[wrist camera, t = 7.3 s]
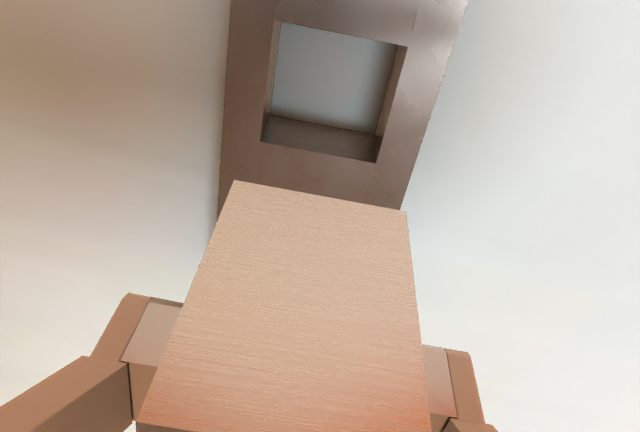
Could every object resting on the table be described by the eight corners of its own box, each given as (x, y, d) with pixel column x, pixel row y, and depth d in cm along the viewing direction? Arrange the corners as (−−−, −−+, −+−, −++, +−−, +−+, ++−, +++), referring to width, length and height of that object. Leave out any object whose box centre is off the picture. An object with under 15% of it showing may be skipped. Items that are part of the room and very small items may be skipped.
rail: (358, 299, 33) (358, 335, 30) (222, 276, 32) (211, 309, 30) (461, -32, 21) (473, -18, 19) (250, -75, 21) (235, -67, 18)
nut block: (367, 326, 14) (368, 581, 9) (224, 301, 14) (146, 547, 9) (405, 211, 11) (435, 470, 7) (234, 179, 11) (135, 422, 6)
